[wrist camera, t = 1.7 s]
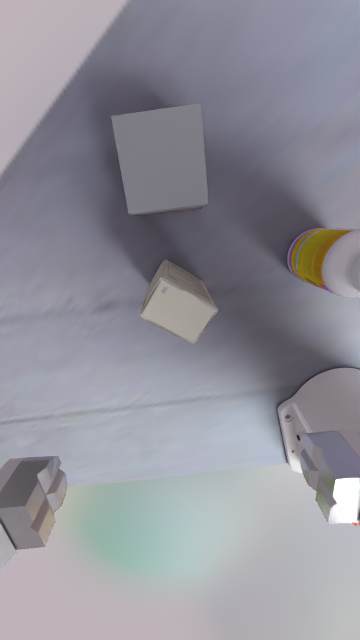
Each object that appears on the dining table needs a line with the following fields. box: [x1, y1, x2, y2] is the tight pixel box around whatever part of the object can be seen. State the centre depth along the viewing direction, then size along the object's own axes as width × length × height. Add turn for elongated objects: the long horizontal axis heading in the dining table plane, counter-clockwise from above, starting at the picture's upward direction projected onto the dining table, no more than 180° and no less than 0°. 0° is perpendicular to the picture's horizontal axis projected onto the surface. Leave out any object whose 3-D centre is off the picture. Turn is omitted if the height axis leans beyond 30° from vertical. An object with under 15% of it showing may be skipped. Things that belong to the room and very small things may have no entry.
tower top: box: [111, 103, 209, 215], centre depth 25 cm, size 8×8×4 cm
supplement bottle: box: [287, 228, 360, 298], centre depth 27 cm, size 7×7×13 cm
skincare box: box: [140, 259, 218, 344], centre depth 28 cm, size 6×4×12 cm
